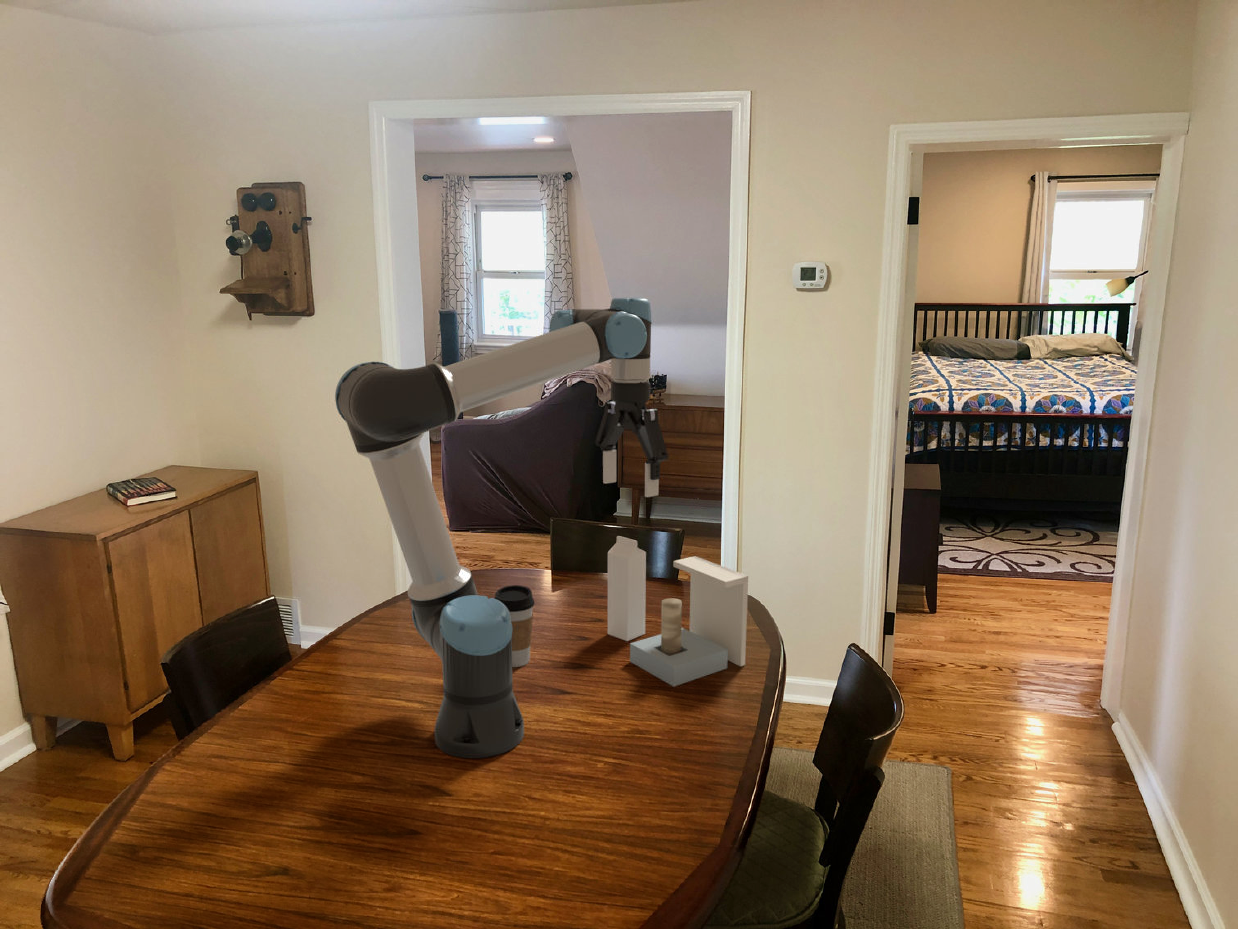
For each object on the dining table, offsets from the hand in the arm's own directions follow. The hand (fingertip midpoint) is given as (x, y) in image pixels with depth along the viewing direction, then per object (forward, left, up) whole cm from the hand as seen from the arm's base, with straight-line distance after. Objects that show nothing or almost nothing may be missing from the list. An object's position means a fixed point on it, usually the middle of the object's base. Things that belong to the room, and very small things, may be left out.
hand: (630, 489), depth 174 cm
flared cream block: (+16, -6, -37) cm, 40 cm away
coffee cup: (-18, +15, -37) cm, 44 cm away
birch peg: (+6, -6, -37) cm, 38 cm away
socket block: (+8, -6, -37) cm, 38 cm away
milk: (+9, +13, -37) cm, 40 cm away
